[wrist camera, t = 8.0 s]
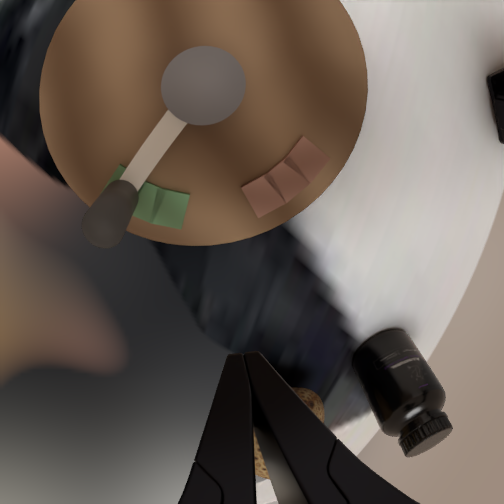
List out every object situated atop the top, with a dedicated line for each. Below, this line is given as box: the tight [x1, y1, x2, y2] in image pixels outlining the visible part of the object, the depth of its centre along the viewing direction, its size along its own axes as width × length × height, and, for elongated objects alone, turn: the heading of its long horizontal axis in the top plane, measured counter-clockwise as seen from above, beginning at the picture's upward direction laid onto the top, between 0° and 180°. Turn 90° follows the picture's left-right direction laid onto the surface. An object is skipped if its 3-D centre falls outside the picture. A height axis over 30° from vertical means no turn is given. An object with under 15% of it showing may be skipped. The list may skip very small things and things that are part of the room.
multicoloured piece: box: [82, 46, 246, 248], centre depth 13 cm, size 10×4×5 cm, turn 139°
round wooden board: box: [39, 0, 368, 246], centre depth 15 cm, size 19×19×1 cm
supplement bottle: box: [353, 330, 453, 457], centre depth 25 cm, size 7×7×12 cm
